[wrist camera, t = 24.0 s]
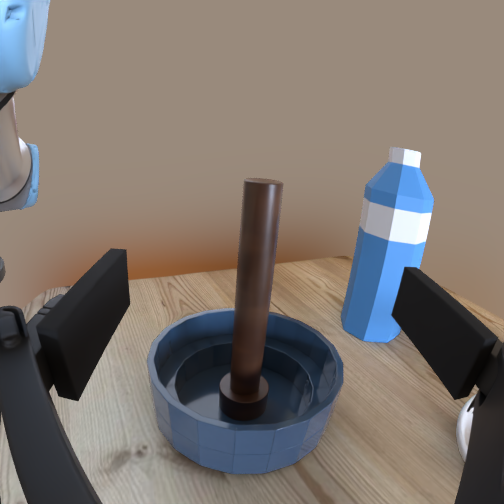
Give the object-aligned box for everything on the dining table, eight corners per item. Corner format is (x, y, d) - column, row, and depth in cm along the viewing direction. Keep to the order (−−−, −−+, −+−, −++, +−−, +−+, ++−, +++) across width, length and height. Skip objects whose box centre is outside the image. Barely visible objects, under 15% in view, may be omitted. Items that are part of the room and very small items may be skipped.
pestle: (212, 414, 26) (221, 180, 19) (226, 384, 30) (240, 174, 23) (260, 425, 25) (293, 188, 18) (270, 393, 29) (299, 181, 22)
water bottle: (411, 337, 40) (454, 160, 32) (360, 348, 38) (402, 146, 30) (377, 307, 49) (407, 152, 41) (328, 313, 46) (356, 141, 38)
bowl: (124, 441, 22) (109, 389, 19) (193, 344, 37) (193, 296, 34) (318, 493, 19) (341, 449, 16) (329, 371, 34) (342, 323, 31)
